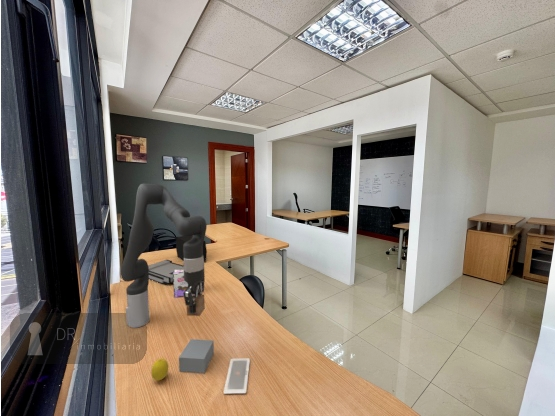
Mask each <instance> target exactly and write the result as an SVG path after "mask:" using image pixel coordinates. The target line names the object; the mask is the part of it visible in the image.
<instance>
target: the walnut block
mask: <svg viewBox="0 0 555 416" xmlns="http://www.w3.org/2000/svg"><path fill="white" fill-rule="evenodd" d="M192 295H195V294H192ZM205 301H206V300H205V294H202V295H197V298H196V302H195V304H196V312H195V313H190V310H189V305H186V316H191V317H200V316H201V315H202V313H203V312H204V311H205V307H206V306H205V304H206V302H205Z"/></svg>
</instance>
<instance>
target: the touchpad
mask: <svg viewBox="0 0 555 416" xmlns="http://www.w3.org/2000/svg"><path fill="white" fill-rule="evenodd" d="M229 361H230V362H229V365H228V370H227V375H226V378H225V383H224V384H225V385H224V388H223V392H222V394H224V395H225V394H247V387H248V380H249V379H248V378H249V372H250V371H249V369H250V361H251V358H231V359H230V360H229Z"/></svg>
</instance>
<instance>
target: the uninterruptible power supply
mask: <svg viewBox="0 0 555 416" xmlns="http://www.w3.org/2000/svg"><path fill="white" fill-rule="evenodd" d="M192 237H193V235H191V236H182V235H180V236H176V239H175V241H176V242H175V251H176V255H177V256H176V257H177V258H179V260H181V261H182V262H183V261H184V253H183V245H184V243H185V242H187V241H189V240H191V239H192ZM207 254H208V251H207V243H206V240H204V242H203V258H204V264H205V263H206V262H207Z"/></svg>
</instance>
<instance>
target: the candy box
mask: <svg viewBox="0 0 555 416" xmlns="http://www.w3.org/2000/svg"><path fill="white" fill-rule="evenodd" d="M172 284H173V298H175V299H176V298H182V297H183V298H184V294H183V293H184V291H187V290H188V283H187V282H185V281H184V269H181V270H174V273H173V282H172Z"/></svg>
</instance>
